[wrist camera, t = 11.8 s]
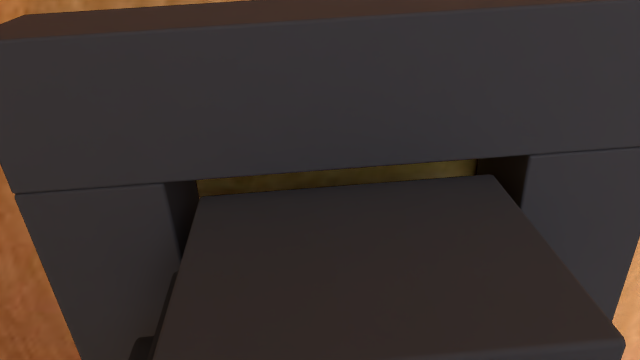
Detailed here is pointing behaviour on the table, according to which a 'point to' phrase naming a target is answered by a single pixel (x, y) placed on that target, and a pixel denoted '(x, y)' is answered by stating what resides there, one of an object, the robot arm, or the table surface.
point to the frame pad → (308, 126)
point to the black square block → (378, 279)
